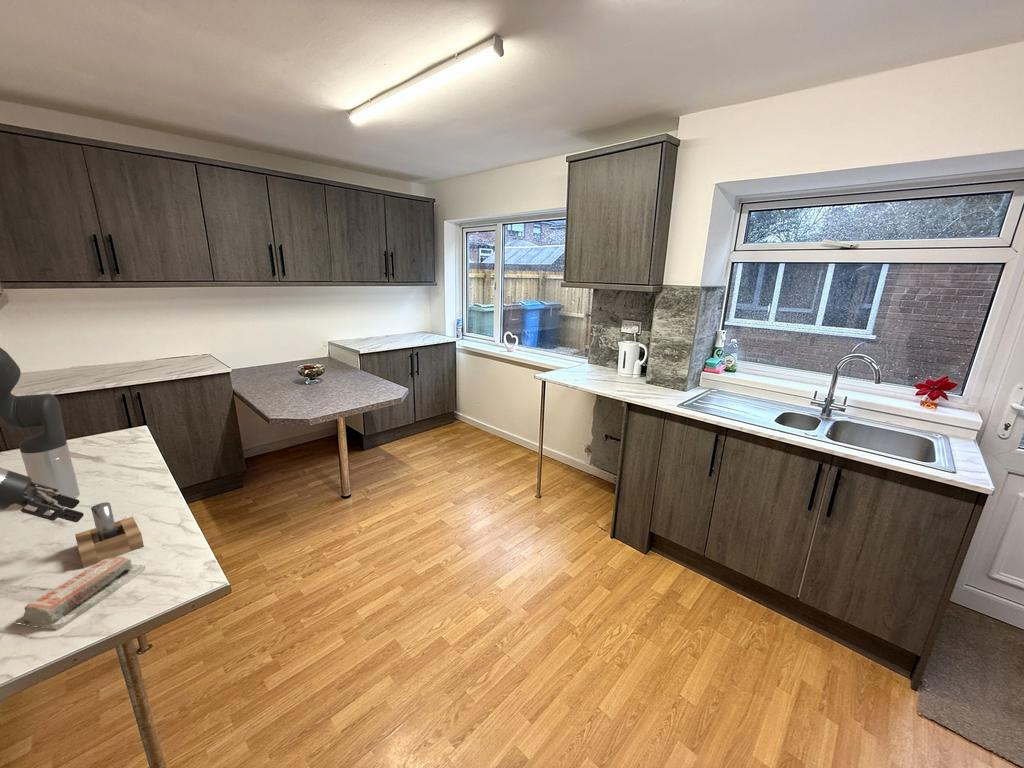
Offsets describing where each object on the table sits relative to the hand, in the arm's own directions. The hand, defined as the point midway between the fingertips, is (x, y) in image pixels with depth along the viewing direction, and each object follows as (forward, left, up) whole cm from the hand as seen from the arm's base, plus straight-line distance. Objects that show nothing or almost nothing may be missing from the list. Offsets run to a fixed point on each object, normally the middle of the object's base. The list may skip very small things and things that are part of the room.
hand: (78, 511), depth 99 cm
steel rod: (0, +4, -12) cm, 13 cm away
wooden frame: (0, +4, -12) cm, 13 cm away
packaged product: (+18, -2, -13) cm, 22 cm away
